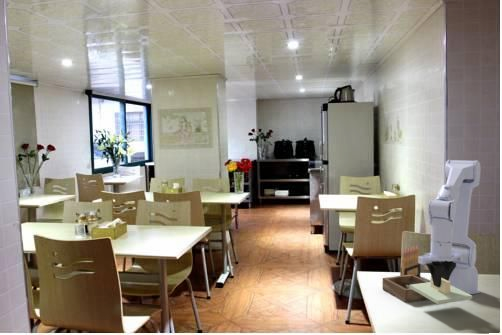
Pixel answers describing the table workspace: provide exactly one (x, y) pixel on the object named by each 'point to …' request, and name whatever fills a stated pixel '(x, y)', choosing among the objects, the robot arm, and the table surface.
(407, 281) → the wooden open box
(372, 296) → the table surface
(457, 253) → the robot arm
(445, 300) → the lid
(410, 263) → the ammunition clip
